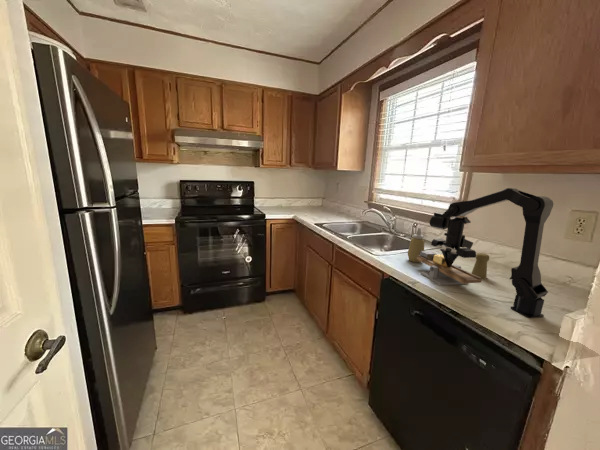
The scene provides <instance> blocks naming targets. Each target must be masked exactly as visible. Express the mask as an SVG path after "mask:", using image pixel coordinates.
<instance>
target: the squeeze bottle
mask: <svg viewBox="0 0 600 450" xmlns="http://www.w3.org/2000/svg"><path fill="white" fill-rule="evenodd" d="M408 245H409V246H408V250H407V256H408V261H410V262H413V263H422V262H421V261H419V260H417V257H418V256H420V251H425V240H424V235H423V234H422V229H421V228H420V227H418V228H417V231H416V233H414V234H413V236H412V238H411V239H410V243H409V244H408Z"/></svg>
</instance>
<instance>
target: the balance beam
mask: <svg viewBox="0 0 600 450" xmlns="http://www.w3.org/2000/svg"><path fill="white" fill-rule="evenodd" d="M417 260H419V261H421V262H420V263H422V264H425V265H427V266H429V268H430V267H431V266H436V267H438V271H440V272H442V273H444V274H446V275H448V276H450V277H452V278H453V279H455V280H457V281H459V282H461V283H468V284H478V283H482V282H483V280H482V279H481V278H480V277H478V276H476V275H474V274H471V273H472V272H469V271H467V270H464V269H462V268H461V269H460V268H458V267H456V266H454V265H455V264H452V265H451V267H442V266H440V265H438V264H436V263H433V260H427V259H425V258H423V257H421V256H418V257H417Z"/></svg>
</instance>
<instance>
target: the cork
mask: <svg viewBox="0 0 600 450" xmlns="http://www.w3.org/2000/svg"><path fill="white" fill-rule="evenodd" d="M489 260H490V256H489V254H487V253H483V252H478V253H477V252H476V257H475V263H474V265H473V267H472V271H471V272H470V273H471V274H474V275H476V276H478V277H480V278H481V279H483V280H485V279H487V273H488V261H489Z"/></svg>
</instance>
